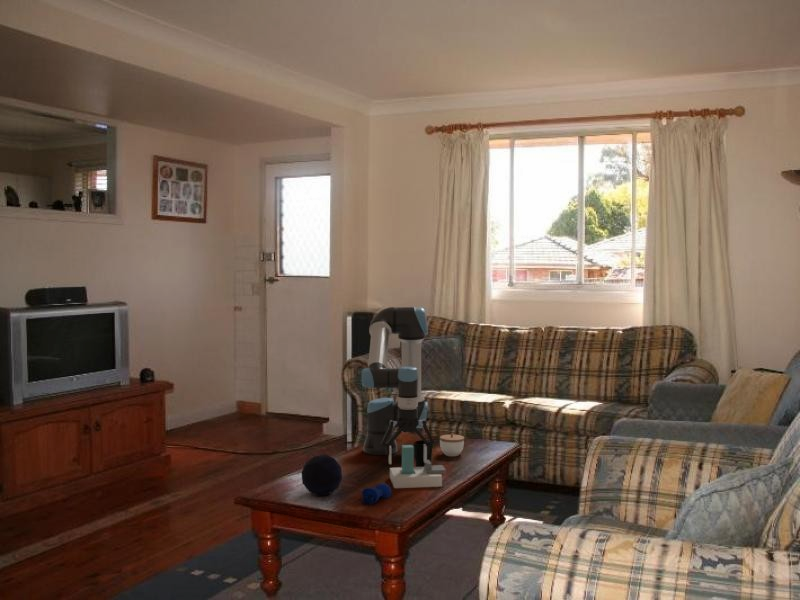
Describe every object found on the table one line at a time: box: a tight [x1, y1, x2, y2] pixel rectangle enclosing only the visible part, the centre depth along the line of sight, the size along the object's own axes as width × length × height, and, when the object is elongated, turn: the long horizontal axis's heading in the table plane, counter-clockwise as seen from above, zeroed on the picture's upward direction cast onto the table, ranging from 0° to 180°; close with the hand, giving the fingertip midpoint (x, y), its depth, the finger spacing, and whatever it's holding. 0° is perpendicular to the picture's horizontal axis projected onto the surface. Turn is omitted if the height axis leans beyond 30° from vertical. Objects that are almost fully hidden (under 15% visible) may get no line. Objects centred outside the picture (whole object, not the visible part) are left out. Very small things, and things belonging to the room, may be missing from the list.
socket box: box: [389, 466, 443, 489], centre depth 301 cm, size 14×18×4 cm
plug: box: [401, 444, 415, 474], centre depth 300 cm, size 4×4×14 cm
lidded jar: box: [439, 432, 465, 457], centre depth 343 cm, size 11×11×9 cm
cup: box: [413, 439, 434, 467], centre depth 315 cm, size 8×8×12 cm
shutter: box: [424, 460, 447, 474], centre depth 302 cm, size 7×7×4 cm
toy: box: [361, 482, 392, 507], centre depth 279 cm, size 7×6×15 cm
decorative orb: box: [300, 454, 343, 497], centre depth 285 cm, size 14×15×15 cm
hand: (407, 462), depth 300 cm, fingers open, 13 cm apart
